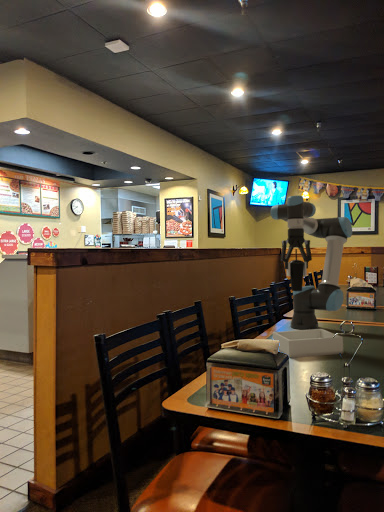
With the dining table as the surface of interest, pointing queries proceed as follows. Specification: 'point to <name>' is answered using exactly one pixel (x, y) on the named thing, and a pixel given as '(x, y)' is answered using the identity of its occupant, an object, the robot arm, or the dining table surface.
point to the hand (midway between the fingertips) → (296, 275)
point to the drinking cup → (296, 273)
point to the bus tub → (309, 342)
